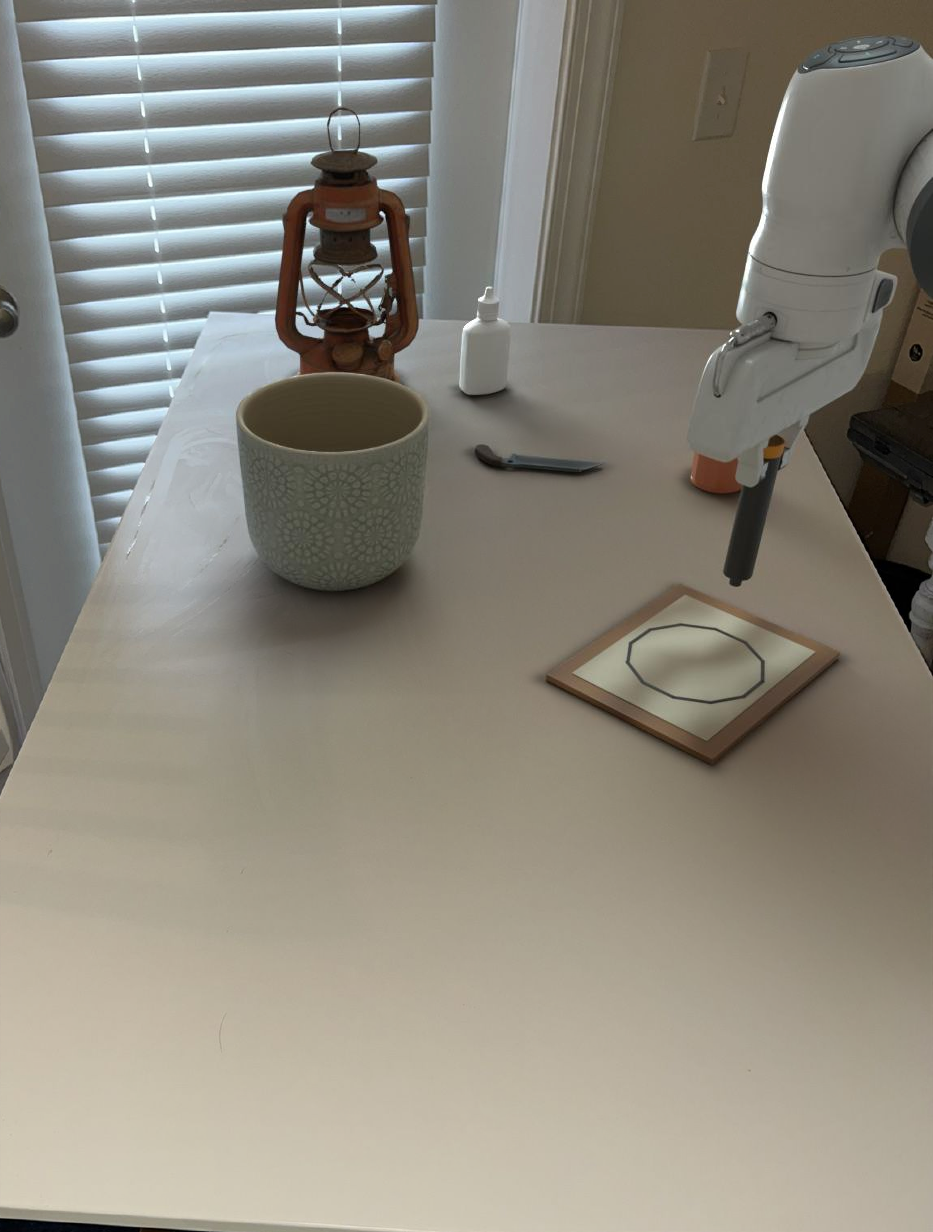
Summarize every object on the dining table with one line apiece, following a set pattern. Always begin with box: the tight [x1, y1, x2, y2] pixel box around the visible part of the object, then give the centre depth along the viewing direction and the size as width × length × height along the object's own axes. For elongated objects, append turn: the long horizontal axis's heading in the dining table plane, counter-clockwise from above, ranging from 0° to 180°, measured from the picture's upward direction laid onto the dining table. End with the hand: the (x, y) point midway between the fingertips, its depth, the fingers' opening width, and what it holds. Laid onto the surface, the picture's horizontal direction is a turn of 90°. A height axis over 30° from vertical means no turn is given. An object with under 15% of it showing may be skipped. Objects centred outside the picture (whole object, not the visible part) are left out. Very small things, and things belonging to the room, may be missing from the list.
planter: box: [235, 373, 430, 592], centre depth 114 cm, size 17×17×15 cm
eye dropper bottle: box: [458, 286, 511, 396], centre depth 145 cm, size 4×6×12 cm
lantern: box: [274, 106, 420, 384], centre depth 141 cm, size 17×13×30 cm
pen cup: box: [689, 452, 742, 494], centre depth 128 cm, size 6×6×9 cm
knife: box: [474, 444, 605, 473], centre depth 134 cm, size 14×4×1 cm, turn 78°
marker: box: [722, 435, 785, 588], centre depth 101 cm, size 2×2×13 cm
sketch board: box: [545, 583, 841, 765], centre depth 105 cm, size 16×20×1 cm
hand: (761, 474), depth 98 cm, fingers closed on marker, 2 cm apart
